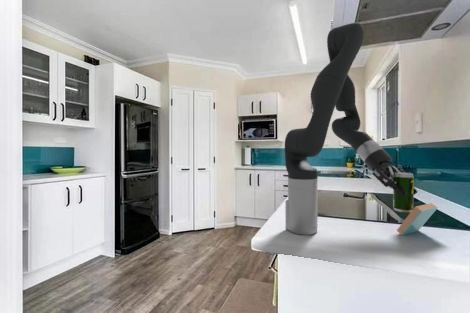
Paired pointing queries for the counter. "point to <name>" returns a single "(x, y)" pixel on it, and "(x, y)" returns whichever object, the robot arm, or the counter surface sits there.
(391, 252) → the counter surface
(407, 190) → the beer can
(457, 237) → the counter surface
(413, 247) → the counter surface
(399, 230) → the tile
